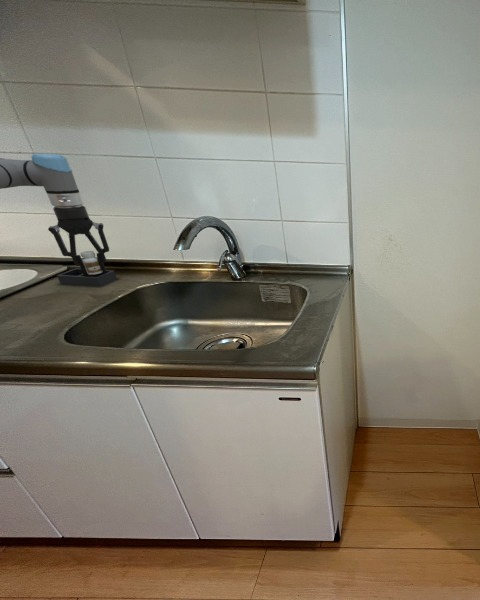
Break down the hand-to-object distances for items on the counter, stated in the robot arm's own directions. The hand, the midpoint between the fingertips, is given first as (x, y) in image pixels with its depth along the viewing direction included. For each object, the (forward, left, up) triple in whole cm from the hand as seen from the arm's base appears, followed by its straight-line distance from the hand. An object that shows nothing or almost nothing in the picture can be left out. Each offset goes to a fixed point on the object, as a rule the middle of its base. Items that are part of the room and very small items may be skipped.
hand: (95, 272), depth 111 cm
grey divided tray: (-3, +2, -4) cm, 5 cm away
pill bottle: (0, 0, 0) cm, 1 cm away
